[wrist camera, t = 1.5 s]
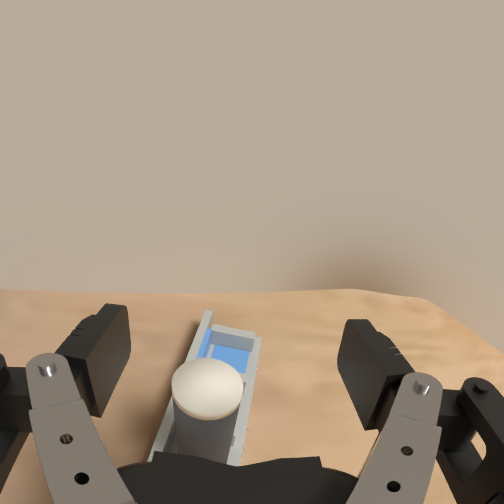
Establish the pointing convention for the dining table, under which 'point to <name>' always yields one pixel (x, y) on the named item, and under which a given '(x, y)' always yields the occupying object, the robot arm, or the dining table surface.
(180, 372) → the gray cylinder
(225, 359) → the grey slotted rack
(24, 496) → the dining table surface
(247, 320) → the dining table surface
